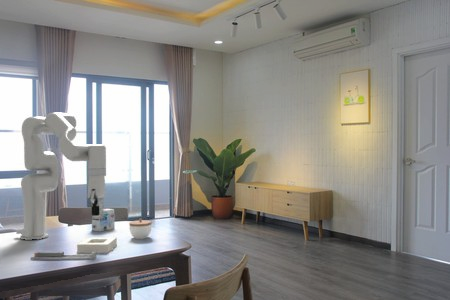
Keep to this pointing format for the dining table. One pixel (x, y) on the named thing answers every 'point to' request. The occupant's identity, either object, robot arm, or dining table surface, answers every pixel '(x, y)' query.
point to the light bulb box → (104, 221)
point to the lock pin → (49, 254)
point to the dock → (96, 245)
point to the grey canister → (99, 209)
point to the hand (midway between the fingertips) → (97, 214)
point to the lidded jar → (140, 228)
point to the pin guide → (69, 257)
